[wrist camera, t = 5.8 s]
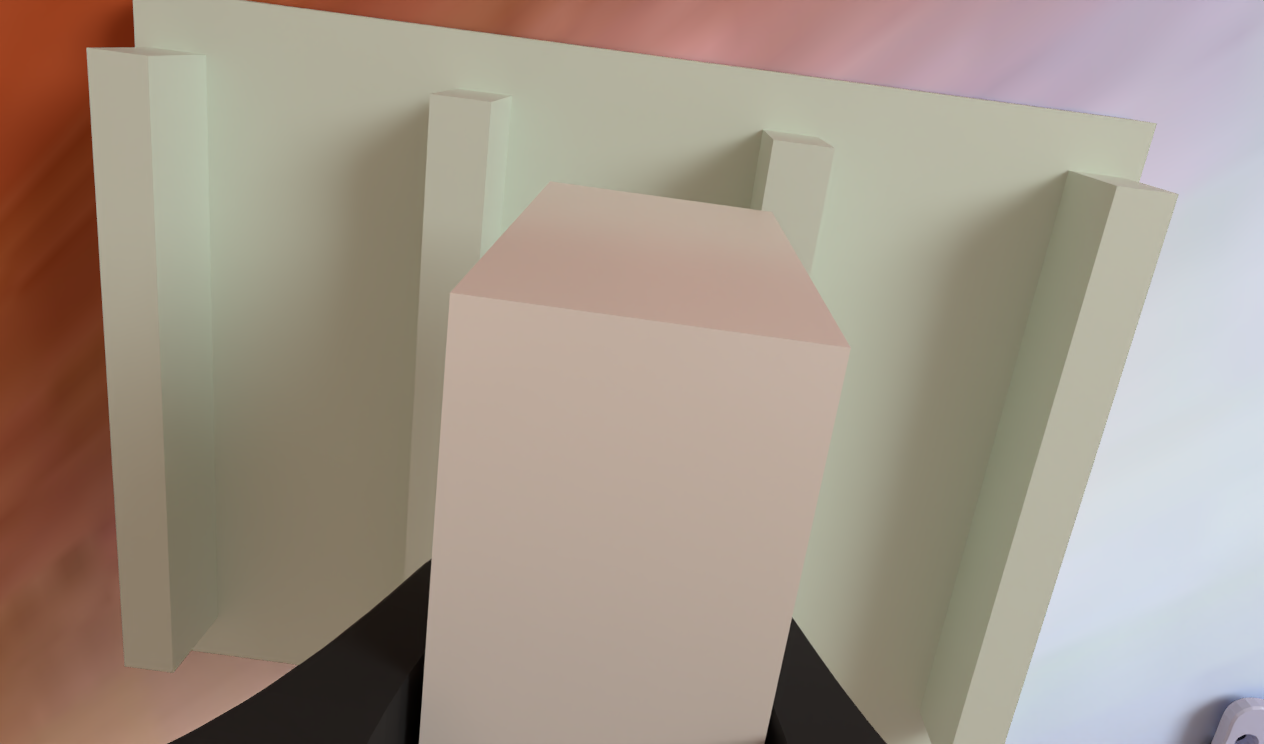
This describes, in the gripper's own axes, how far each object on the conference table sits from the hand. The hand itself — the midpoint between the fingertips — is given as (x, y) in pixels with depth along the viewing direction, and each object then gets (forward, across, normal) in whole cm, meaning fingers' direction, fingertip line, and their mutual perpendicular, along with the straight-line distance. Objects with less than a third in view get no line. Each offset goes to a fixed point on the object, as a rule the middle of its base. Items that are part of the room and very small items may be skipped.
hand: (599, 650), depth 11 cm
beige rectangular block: (+3, 0, 0) cm, 3 cm away
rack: (+9, +1, 0) cm, 9 cm away
